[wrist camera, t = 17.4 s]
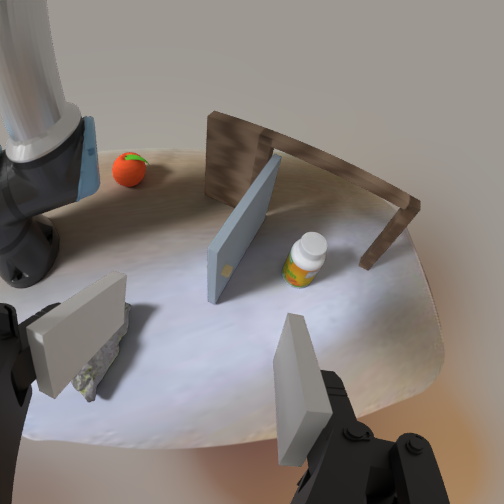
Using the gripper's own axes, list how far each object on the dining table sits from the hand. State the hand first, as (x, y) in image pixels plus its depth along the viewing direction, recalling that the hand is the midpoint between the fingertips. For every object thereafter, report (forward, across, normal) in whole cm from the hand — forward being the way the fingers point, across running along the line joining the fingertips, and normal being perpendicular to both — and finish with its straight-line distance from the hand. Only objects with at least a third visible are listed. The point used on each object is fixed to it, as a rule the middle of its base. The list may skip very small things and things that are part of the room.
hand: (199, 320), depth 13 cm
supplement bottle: (+35, +10, -6) cm, 37 cm away
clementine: (+44, -24, +3) cm, 50 cm away
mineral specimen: (+20, -17, -21) cm, 33 cm away
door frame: (+41, +8, +1) cm, 42 cm away
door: (+35, 0, -5) cm, 35 cm away
